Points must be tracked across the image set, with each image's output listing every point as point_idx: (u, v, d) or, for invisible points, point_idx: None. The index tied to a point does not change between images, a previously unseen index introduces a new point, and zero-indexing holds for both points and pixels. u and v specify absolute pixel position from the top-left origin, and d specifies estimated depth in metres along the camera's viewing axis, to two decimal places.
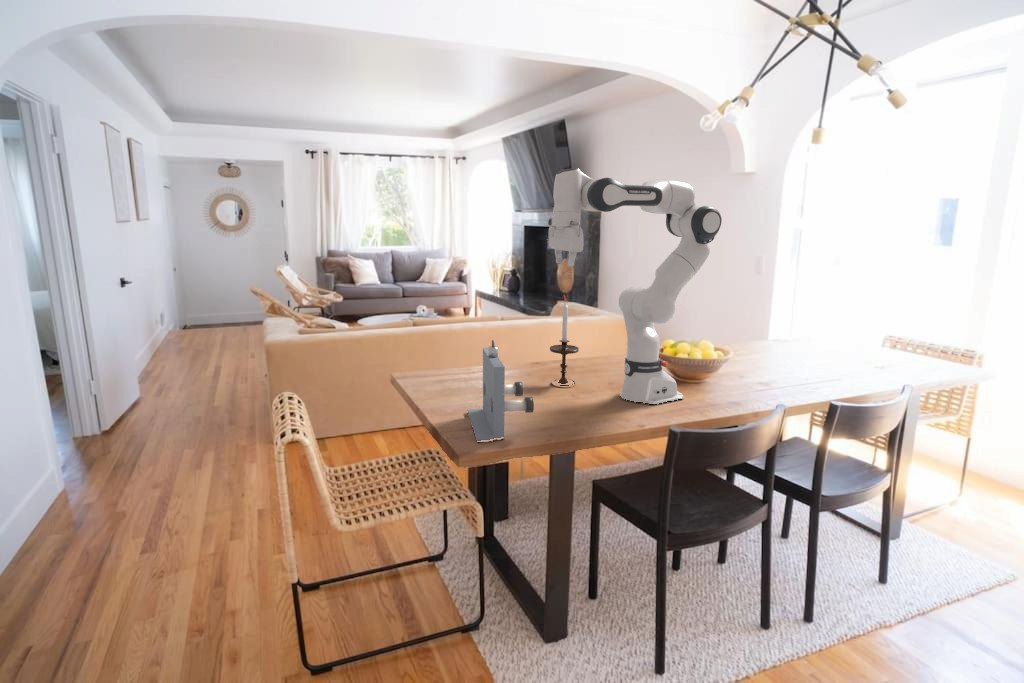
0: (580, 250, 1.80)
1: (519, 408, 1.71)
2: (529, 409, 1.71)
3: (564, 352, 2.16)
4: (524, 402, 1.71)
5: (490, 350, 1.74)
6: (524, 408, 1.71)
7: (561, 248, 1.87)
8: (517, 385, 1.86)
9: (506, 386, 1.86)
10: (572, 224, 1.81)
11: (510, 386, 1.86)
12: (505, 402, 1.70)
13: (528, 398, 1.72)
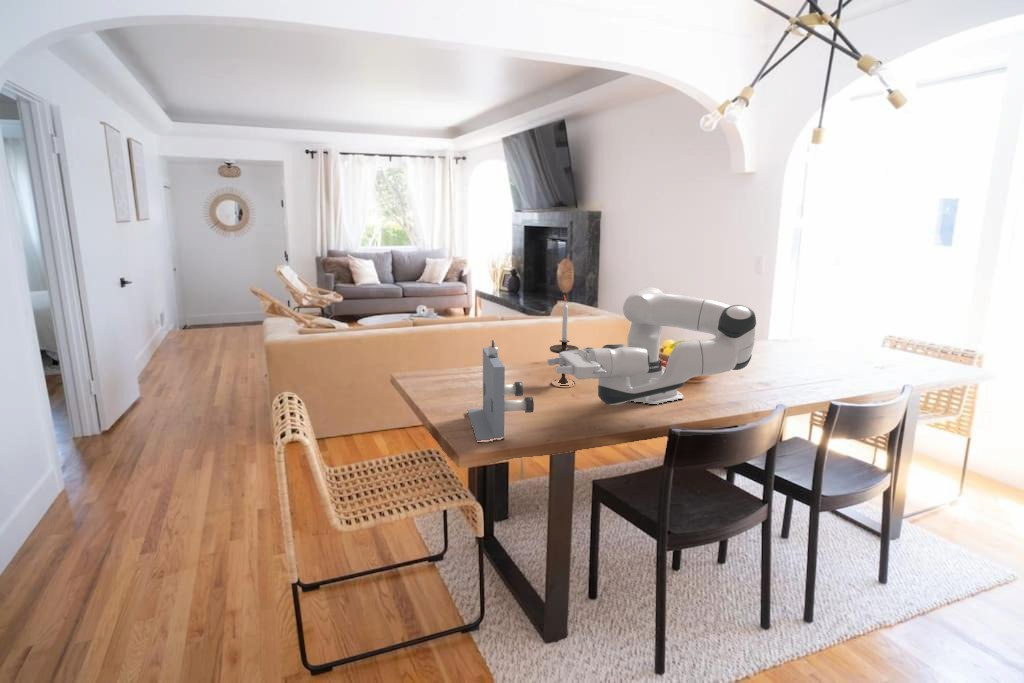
0: (578, 376, 1.61)
1: (519, 408, 1.71)
2: (529, 409, 1.71)
3: None
4: (524, 402, 1.71)
5: (490, 350, 1.74)
6: (524, 408, 1.71)
7: (570, 359, 1.69)
8: (517, 385, 1.86)
9: (506, 386, 1.86)
10: (600, 366, 1.66)
11: (510, 386, 1.86)
12: (505, 402, 1.70)
13: (528, 398, 1.72)
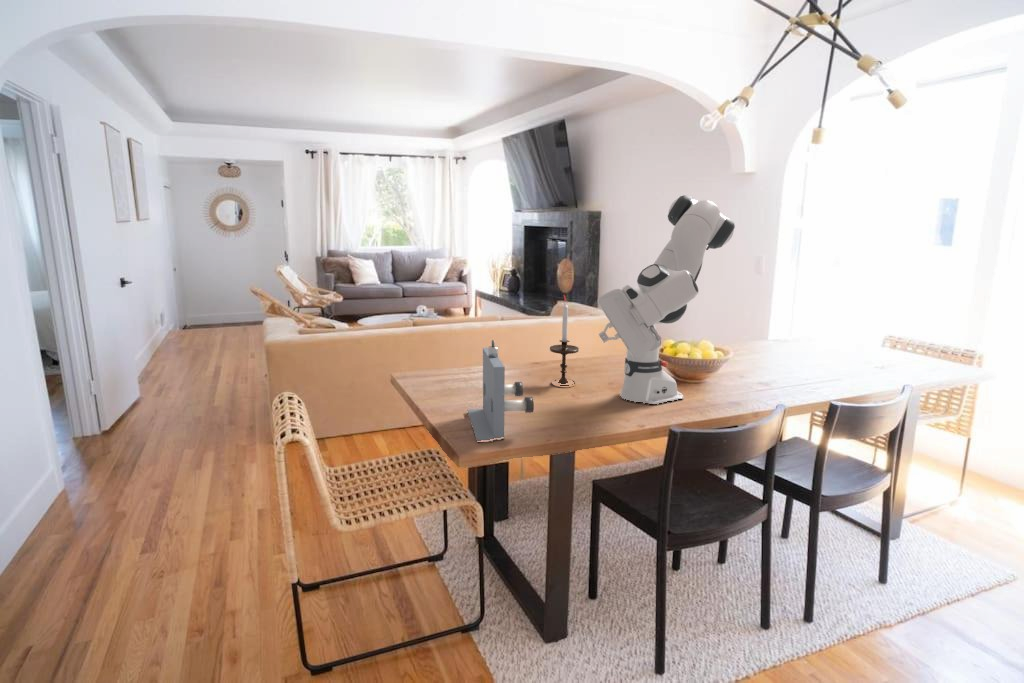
0: None
1: (519, 408, 1.71)
2: (529, 409, 1.71)
3: (564, 352, 2.16)
4: (524, 402, 1.71)
5: (490, 350, 1.74)
6: (524, 408, 1.71)
7: (619, 330, 1.61)
8: (517, 385, 1.86)
9: (506, 386, 1.86)
10: (653, 331, 1.61)
11: (510, 386, 1.86)
12: (505, 402, 1.70)
13: (528, 398, 1.72)
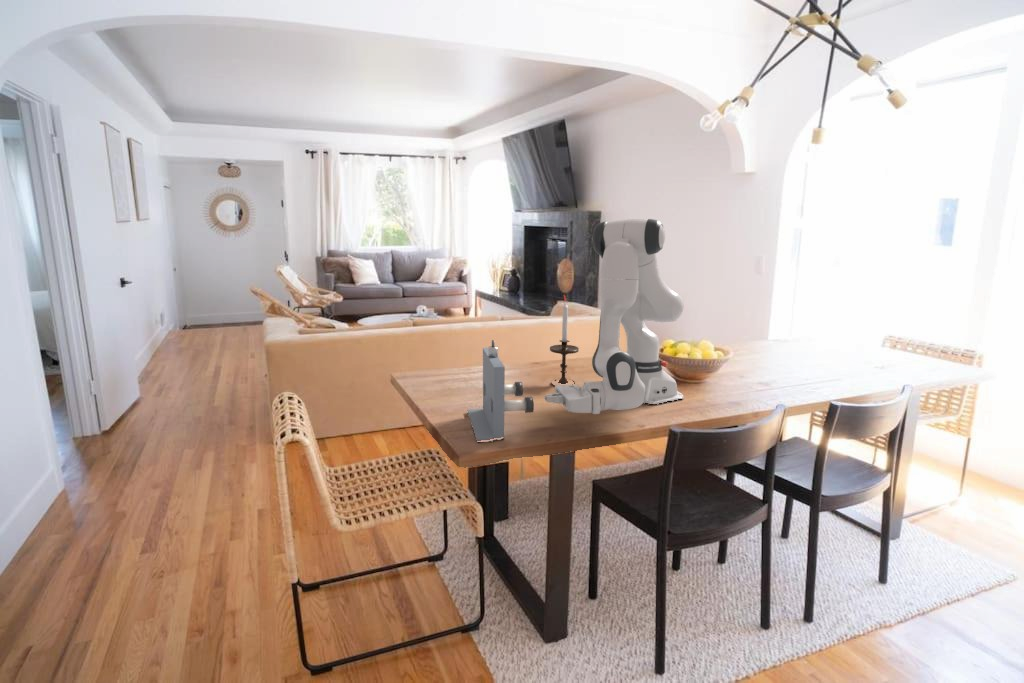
0: None
1: (519, 408, 1.71)
2: (529, 409, 1.71)
3: (564, 352, 2.16)
4: (524, 402, 1.71)
5: (490, 350, 1.74)
6: (524, 408, 1.71)
7: None
8: (517, 385, 1.86)
9: (506, 386, 1.86)
10: None
11: (510, 386, 1.86)
12: (505, 402, 1.70)
13: (528, 398, 1.72)
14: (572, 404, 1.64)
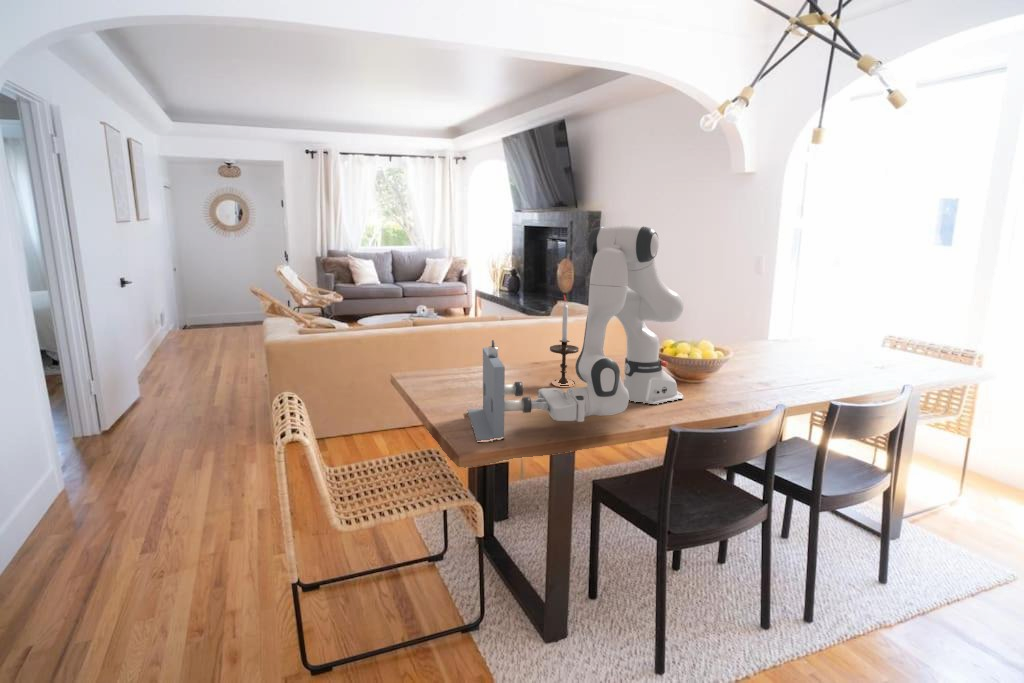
0: None
1: (517, 408, 1.71)
2: (527, 409, 1.71)
3: (564, 352, 2.16)
4: (522, 402, 1.71)
5: (490, 350, 1.74)
6: (522, 408, 1.71)
7: None
8: (517, 385, 1.86)
9: (506, 386, 1.86)
10: None
11: (510, 386, 1.86)
12: None
13: (526, 398, 1.71)
14: (557, 412, 1.64)
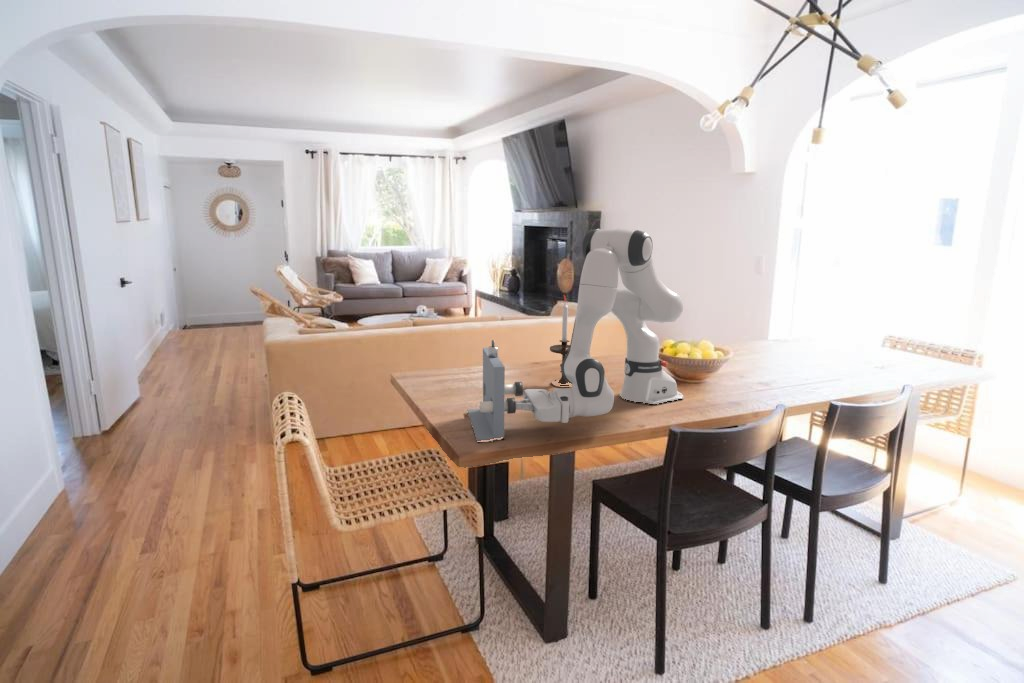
0: None
1: None
2: (511, 410, 1.70)
3: (564, 352, 2.16)
4: (506, 403, 1.70)
5: (490, 350, 1.74)
6: (506, 409, 1.70)
7: None
8: (517, 385, 1.86)
9: (506, 386, 1.86)
10: None
11: (510, 386, 1.86)
12: (487, 403, 1.69)
13: (510, 399, 1.71)
14: (541, 413, 1.63)
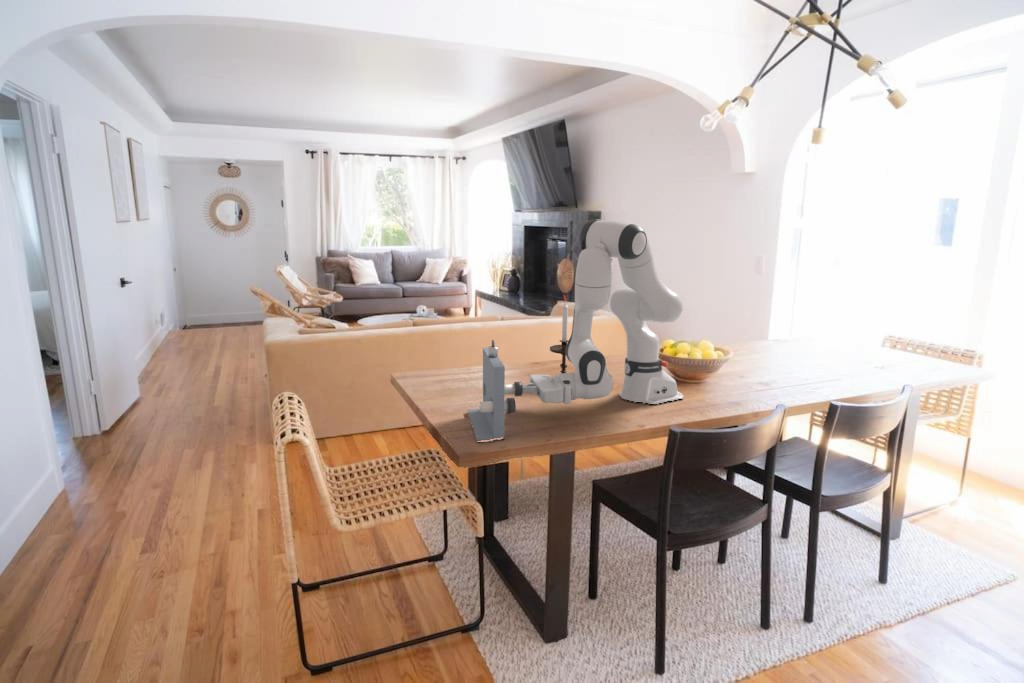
0: None
1: None
2: (511, 410, 1.70)
3: (564, 352, 2.16)
4: (506, 403, 1.70)
5: (490, 350, 1.74)
6: (506, 409, 1.70)
7: None
8: (517, 385, 1.86)
9: (506, 386, 1.86)
10: None
11: (510, 386, 1.86)
12: (487, 403, 1.69)
13: (510, 399, 1.71)
14: (546, 395, 1.79)
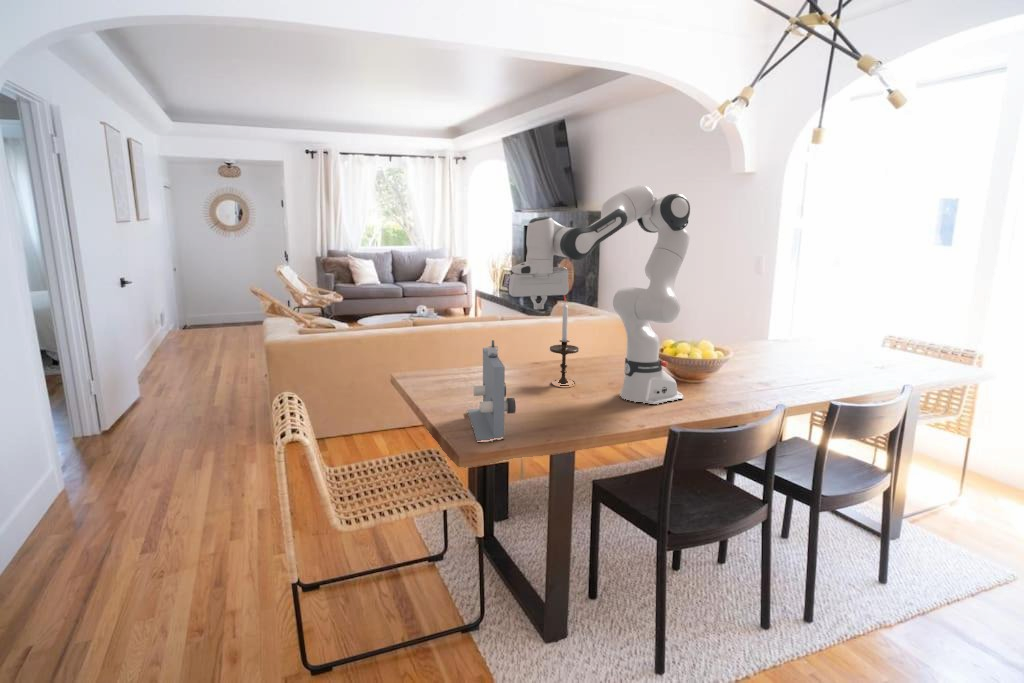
0: None
1: None
2: (511, 410, 1.70)
3: (564, 352, 2.16)
4: (506, 403, 1.70)
5: (490, 350, 1.74)
6: (506, 409, 1.70)
7: (543, 294, 1.92)
8: None
9: None
10: (556, 269, 1.93)
11: None
12: (487, 403, 1.69)
13: (510, 399, 1.71)
14: (509, 292, 1.91)
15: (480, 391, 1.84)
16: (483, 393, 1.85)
